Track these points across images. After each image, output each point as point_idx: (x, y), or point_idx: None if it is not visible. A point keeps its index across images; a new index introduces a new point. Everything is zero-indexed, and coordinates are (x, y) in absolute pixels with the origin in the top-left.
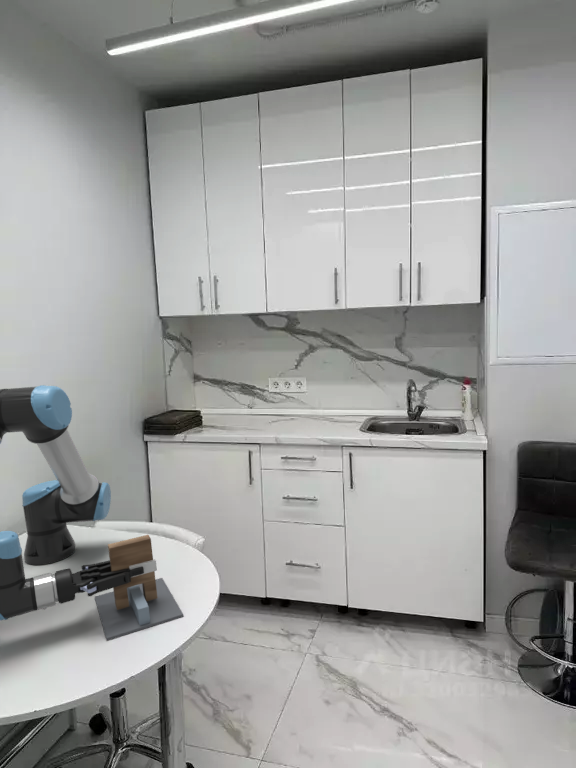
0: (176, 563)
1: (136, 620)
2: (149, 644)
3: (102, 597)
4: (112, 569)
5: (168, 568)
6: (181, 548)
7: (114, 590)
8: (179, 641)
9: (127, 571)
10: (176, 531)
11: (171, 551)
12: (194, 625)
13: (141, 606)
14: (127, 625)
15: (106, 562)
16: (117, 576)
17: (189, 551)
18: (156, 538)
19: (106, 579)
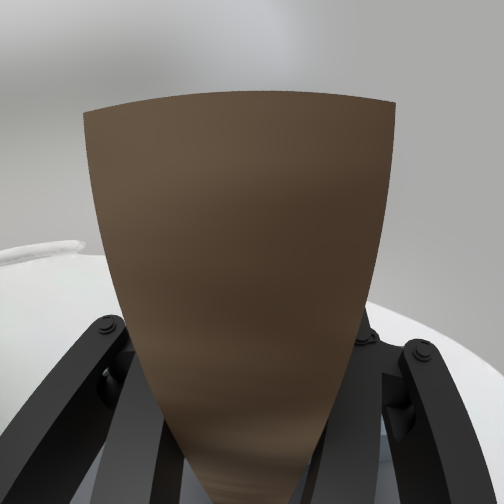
0: (109, 286)
1: (380, 465)
2: (493, 433)
3: (82, 500)
4: (317, 436)
5: (109, 302)
6: (71, 262)
7: (270, 498)
8: (493, 373)
9: (376, 346)
10: (24, 249)
11: (59, 274)
12: (442, 341)
13: None
14: (398, 495)
15: (52, 407)
16: (462, 408)
17: (96, 258)
18: (3, 270)
19: (484, 495)
